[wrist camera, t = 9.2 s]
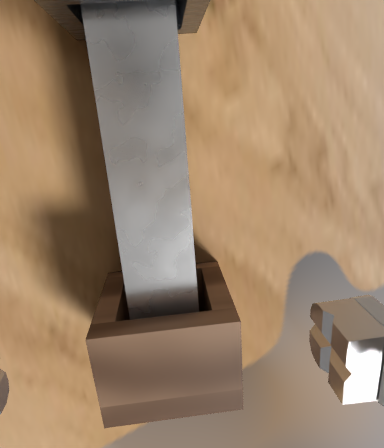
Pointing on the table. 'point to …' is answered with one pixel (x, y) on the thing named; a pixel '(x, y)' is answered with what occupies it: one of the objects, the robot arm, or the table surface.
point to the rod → (145, 150)
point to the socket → (166, 355)
